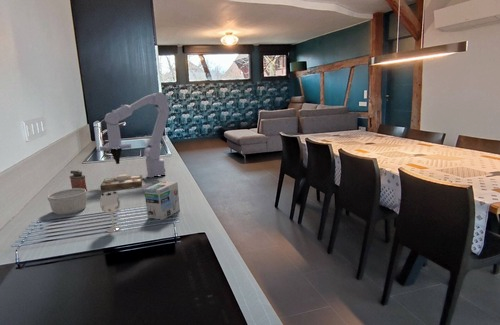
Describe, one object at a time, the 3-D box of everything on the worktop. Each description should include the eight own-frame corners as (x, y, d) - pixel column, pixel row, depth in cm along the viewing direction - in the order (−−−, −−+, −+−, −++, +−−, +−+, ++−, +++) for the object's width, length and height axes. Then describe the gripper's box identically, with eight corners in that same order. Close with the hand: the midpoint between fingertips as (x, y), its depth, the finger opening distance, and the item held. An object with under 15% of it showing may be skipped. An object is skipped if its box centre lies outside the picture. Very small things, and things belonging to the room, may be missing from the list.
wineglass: (116, 224, 112) (111, 190, 110) (127, 227, 109) (122, 192, 106) (100, 230, 107) (95, 194, 105) (111, 234, 104) (105, 197, 102)
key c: (115, 184, 167) (114, 178, 166) (114, 186, 163) (113, 180, 163) (106, 185, 166) (105, 179, 165) (105, 187, 162) (104, 181, 162)
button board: (142, 179, 174) (142, 174, 174) (141, 186, 160) (141, 181, 159) (105, 183, 170) (104, 178, 169) (101, 191, 155) (100, 186, 155)
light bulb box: (162, 220, 114) (159, 189, 112) (146, 218, 116) (143, 188, 114) (180, 210, 123) (178, 181, 121) (165, 208, 126) (162, 180, 124)
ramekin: (62, 218, 122) (59, 199, 120) (43, 213, 129) (40, 195, 127) (95, 207, 133) (93, 190, 131) (76, 203, 140) (73, 186, 138)
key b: (127, 180, 168) (126, 174, 168) (126, 181, 164) (126, 175, 164) (119, 181, 167) (118, 175, 167) (118, 182, 163) (117, 176, 163)
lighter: (89, 190, 158) (86, 169, 156) (83, 192, 155) (80, 171, 153) (75, 190, 160) (72, 169, 158) (70, 192, 157) (66, 171, 155)
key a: (140, 181, 170) (139, 175, 169) (140, 183, 166) (139, 177, 166) (132, 182, 169) (131, 176, 168) (131, 184, 165) (130, 178, 165)
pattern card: (140, 179, 164) (140, 178, 164) (140, 181, 160) (140, 180, 160) (103, 183, 160) (102, 182, 160) (101, 185, 156) (101, 184, 156)
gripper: (97, 139, 162) (101, 166, 165) (129, 136, 166) (132, 163, 169) (99, 137, 169) (103, 164, 171) (130, 135, 172) (133, 161, 175)
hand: (117, 163), depth 170 cm, fingers closed
